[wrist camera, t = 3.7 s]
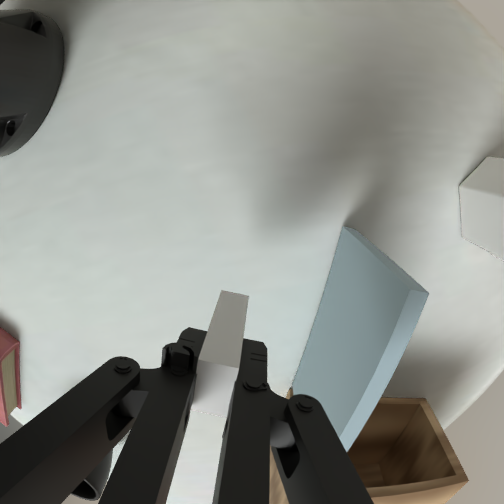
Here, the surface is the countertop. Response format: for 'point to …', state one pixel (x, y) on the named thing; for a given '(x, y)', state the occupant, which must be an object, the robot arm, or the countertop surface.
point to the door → (358, 333)
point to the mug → (95, 480)
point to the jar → (484, 206)
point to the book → (9, 376)
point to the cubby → (398, 456)
